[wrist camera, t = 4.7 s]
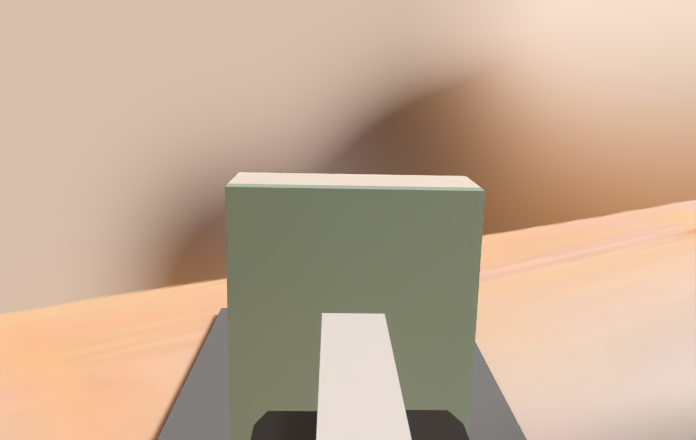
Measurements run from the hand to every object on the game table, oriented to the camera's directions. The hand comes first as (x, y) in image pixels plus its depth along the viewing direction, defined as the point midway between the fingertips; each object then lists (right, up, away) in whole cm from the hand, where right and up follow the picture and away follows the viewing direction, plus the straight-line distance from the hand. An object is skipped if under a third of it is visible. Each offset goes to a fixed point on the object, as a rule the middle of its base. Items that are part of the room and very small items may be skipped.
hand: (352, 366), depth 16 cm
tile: (0, -7, +8) cm, 11 cm away
